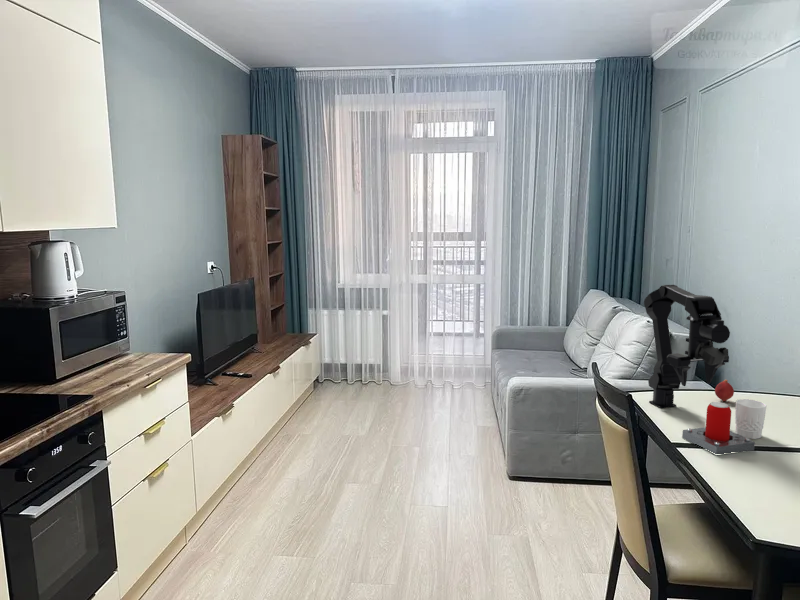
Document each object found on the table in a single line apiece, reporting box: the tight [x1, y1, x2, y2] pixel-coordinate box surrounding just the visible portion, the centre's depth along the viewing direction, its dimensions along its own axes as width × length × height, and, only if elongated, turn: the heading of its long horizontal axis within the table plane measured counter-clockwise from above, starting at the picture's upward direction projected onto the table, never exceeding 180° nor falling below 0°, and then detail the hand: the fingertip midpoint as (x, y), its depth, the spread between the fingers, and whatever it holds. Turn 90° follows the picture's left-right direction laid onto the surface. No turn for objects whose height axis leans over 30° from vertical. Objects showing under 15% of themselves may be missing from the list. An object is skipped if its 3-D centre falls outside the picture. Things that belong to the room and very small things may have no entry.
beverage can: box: [705, 401, 732, 441], centre depth 164 cm, size 6×6×12 cm
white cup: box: [734, 398, 767, 440], centre depth 170 cm, size 8×8×10 cm
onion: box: [714, 379, 735, 402], centre depth 200 cm, size 6×6×8 cm
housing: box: [681, 426, 756, 455], centre depth 164 cm, size 13×13×3 cm
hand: (696, 384), depth 178 cm, fingers open, 9 cm apart
